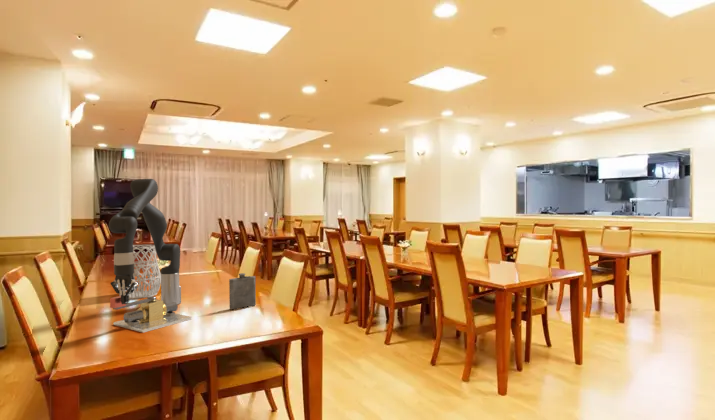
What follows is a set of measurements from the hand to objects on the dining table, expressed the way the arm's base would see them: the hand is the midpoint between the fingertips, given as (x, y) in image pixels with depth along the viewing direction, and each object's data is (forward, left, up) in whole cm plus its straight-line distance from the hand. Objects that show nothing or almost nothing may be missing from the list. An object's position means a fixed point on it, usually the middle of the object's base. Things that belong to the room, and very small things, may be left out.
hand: (124, 303), depth 178 cm
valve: (-16, -6, -12) cm, 21 cm away
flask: (-57, +10, -13) cm, 59 cm away
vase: (-47, -68, -13) cm, 84 cm away
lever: (-7, -5, -3) cm, 9 cm away
